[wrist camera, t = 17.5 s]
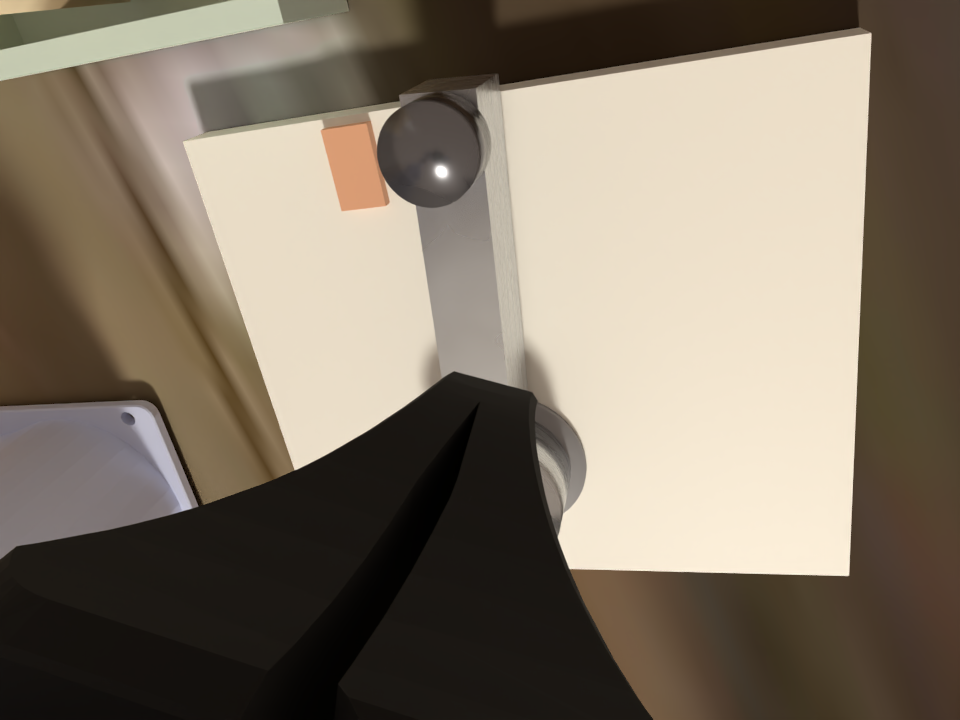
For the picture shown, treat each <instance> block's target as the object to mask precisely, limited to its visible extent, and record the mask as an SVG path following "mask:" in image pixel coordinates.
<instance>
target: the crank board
mask: <svg viewBox="0 0 960 720" xmlns="http://www.w3.org/2000/svg"><path fill="white" fill-rule="evenodd" d="M870 55H871V33H870V32H868V31H866V30H864V29H862V28H853V29H847V30H841V31H835V32H828V33H822V34H816V35H810V36H803V37H797V38H791V39H785V40H778V41H772V42H766V43H760V44H753V45H747V46H741V47H735V48H728V49H722V50H716V51H710V52H703V53H697V54H691V55H685V56H678V57H672V58H666V59H660V60H653V61H647V62H641V63H635V64H628V65H622V66H616V67H610V68H603V69H597V70H591V71H585V72H578V73H572V74H566V75H560V76H553V77H547V78H541V79H535V80H528V81H522V82H516V83H510V84H503V85H499V86H500V97H501V107H502V118H503V128H504V139H505V150H506V160H507V171H508V181H509V192H510V203H511V213H512V224H513V235H514V245H515V256H516V266H517V277H518V288H519V298H520V309H521V319H522V330H523V341H524V351H525V362H526V373H527V383H528V391H530V392H533V394H534V396H535V397H536V399H537V400H538V402H537V406H536V411H535V421H536V422H538V423H539V424H541V425H543V426H544V427H545V428H547V429H548V430H549V431H550V432H552V433H553V434H554V435H555V436H556V437H557V439H558V440H559V441H560V442H561V444H562V445H563V447H564V448H565V451H566V453H567V455H568V458H569V461H570V466H571V479H570V485H569V489H568V494H567V499H566V503H565V508H564V513H563V517H562V522H561V527H560V532H559V535H558V540H559V543H560V546H561V549H562V551H563V554H564V556H565V559H566V562H567V564H568V567H569V569H595V570H635V571H675V572H714V573H754V574H794V575H834V576H849V563H850V539H851V515H852V491H853V467H854V443H855V418H856V394H857V370H858V346H859V322H860V297H861V273H862V249H863V225H864V201H865V176H866V152H867V128H868V104H869V80H870ZM399 108H401V105H400V101H397V102H391V103H385V104H378V105H372V106H366V107H360V108H353V109H347V110H341V111H335V112H328V113H322V114H316V115H310V116H303V117H297V118H291V119H285V120H278V121H272V122H266V123H260V124H253V125H247V126H241V127H235V128H228V129H222V130H216V131H210V132H206V133H203V134H201V135H198V136H196V137H193V138H191V139H188V140H185V141H183V143H184V146H185V149H186V152H187V155H188V158H189V161H190V164H191V167H192V170H193V173H194V176H195V179H196V181H197V184H198V187H199V190H200V193H201V196H202V199H203V202H204V205H205V208H206V211H207V214H208V217H209V220H210V223H211V226H212V228H213V231H214V234H215V237H216V240H217V243H218V246H219V249H220V252H221V255H222V258H223V261H224V264H225V267H226V270H227V272H228V275H229V278H230V281H231V284H232V287H233V290H234V293H235V296H236V299H237V302H238V305H239V308H240V311H241V314H242V316H243V319H244V322H245V325H246V328H247V331H248V334H249V337H250V340H251V343H252V346H253V349H254V352H255V355H256V358H257V361H258V363H259V366H260V369H261V372H262V375H263V378H264V381H265V384H266V387H267V390H268V393H269V396H270V399H271V402H272V405H273V407H274V410H275V413H276V416H277V419H278V422H279V425H280V428H281V431H282V434H283V437H284V440H285V443H286V446H287V449H288V452H289V454H290V457H291V460H292V463H293V466H294V469H295V470H297V469H299V468H301V467H303V466H305V465H307V464H309V463H311V462H313V461H315V460H317V459H319V458H321V457H323V456H325V455H327V454H329V453H330V452H332V451H334V450H336V449H337V448H339V447H341V446H342V445H344V444H346V443H348V442H349V441H351V440H353V439H355V438H356V437H358V436H360V435H361V434H363V433H365V432H366V431H368V430H370V429H371V428H373V427H374V426H376V425H377V424H379V423H380V422H382V421H383V420H385V419H386V418H388V417H389V416H391V415H392V414H394V413H395V412H397V411H398V410H400V409H401V408H403V407H404V406H406V405H407V404H408V403H410V402H411V401H413V400H414V399H415V398H417V397H418V396H420V395H421V394H422V393H424V392H425V391H426V390H428V389H429V388H430V387H432V386H433V385H434V384H435V383H437V382H438V381H439V380H441V379H442V376H441V370H440V363H439V356H438V350H437V343H436V336H435V330H434V323H433V317H432V310H431V303H430V297H429V290H428V284H427V277H426V270H425V264H424V257H423V251H422V244H421V237H420V231H419V224H418V218H417V211H416V205H414V204H411V203H409V202H407V201H406V200H404V199H402V198H401V197H400V196H398V195H397V194H396V193H395V192H394V191H393V190H392V189H391V188H390V186H389V185H388V184H387V182H386V181H385V179H384V177H383V175H382V173H381V170H380V167H379V164H378V159H377V142H378V137H379V134H380V131H381V129H382V127H383V125H384V123H385V122H386V120H387V119H388V118H389V117H390V116H391V115H392V114H393V113H394V112H395V111H396V110H398V109H399Z"/></svg>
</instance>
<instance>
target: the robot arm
mask: <svg viewBox="0 0 960 720" xmlns="http://www.w3.org/2000/svg"><path fill="white" fill-rule="evenodd" d="M537 402H538V400H537V399H536V397H535V396H534V394H533V392H530V391H527V390H523V389H519V388H515V387H512V386H508V385H504V384H500V383H497V382H493V381H489V380H485V379H482V378H478V377H474V376H470V375H467V374H463V373H459V372H455V371H453V372H452V373H450V374H448V375H446V376H445V377H443V378H442V379H441V380H439V381H438V382H437V383H435V384H434V385H433V386H432V387H430V388H429V389H428V390H426V391H425V392H424V393H422V394H421V395H420V396H418V397H417V398H415V399H414V400H413V401H411V402H410V403H408V404H407V405H406V406H404V407H403V408H401V409H400V410H398V411H397V412H395V413H394V414H392V415H391V416H389V417H388V418H386V419H385V420H383V421H382V422H380V423H379V424H377V425H376V426H374V427H373V428H371V429H370V430H368V431H366V432H365V433H363V434H361V435H360V436H358V437H356V438H355V439H353V440H351V441H349V442H348V443H346V444H344V445H342V446H341V447H339V448H337V449H336V450H334V451H332V452H330V453H329V454H327V455H325V456H323V457H321V458H319V459H317V460H315V461H313V462H311V463H309V464H307V465H305V466H303V467H301V468H299V469H297V470H295V471H292V472H290V473H288V474H286V475H283V476H281V477H279V478H277V479H274V480H272V481H269V482H267V483H264V484H262V485H259V486H256V487H253V488H250V489H248V490H245V491H242V492H239V493H236V494H234V495H231V496H228V497H225V498H222V499H220V500H217V501H214V502H211V503H208V504H205V505H202V506H198V504H197V502H196V499H195V497H194V494H193V492H192V490H191V487H190V485H189V482H188V480H187V478H186V475H185V473H184V470H183V468H182V466H181V463H180V461H179V458H178V456H177V454H176V451H175V449H174V446H173V444H172V442H171V439H170V437H169V434H168V432H167V430H166V427H165V425H164V422H163V420H162V418H161V415H160V413H159V411H158V409H157V408H156V407H155V406H154V405H153V404H152V403H150V402H148V401H144V400H132V401H110V402H87V403H65V404H43V405H21V406H0V720H653V718H652V717H651V716H650V714H649V713H648V712H647V710H646V709H645V708H644V706H643V705H642V703H641V702H640V700H639V699H638V697H637V696H636V694H635V693H634V691H633V689H632V688H631V686H630V684H629V683H628V681H627V680H626V678H625V676H624V675H623V673H622V672H621V670H620V668H619V667H618V665H617V663H616V662H615V660H614V659H613V657H612V655H611V653H610V651H609V649H608V647H607V645H606V644H605V642H604V640H603V638H602V636H601V634H600V632H599V630H598V628H597V627H596V625H595V623H594V621H593V619H592V617H591V615H590V613H589V611H588V610H587V608H586V606H585V604H584V602H583V599H582V597H581V595H580V593H579V590H578V588H577V586H576V583H575V581H574V579H573V577H572V574H571V572H570V569H569V567H568V564H567V562H566V559H565V556H564V554H563V551H562V549H561V546H560V543H559V540H558V537H557V534H556V531H555V527H554V524H553V521H552V517H551V514H550V510H549V506H548V503H547V499H546V495H545V491H544V486H543V482H542V476H541V471H540V465H539V460H538V453H537V446H536V434H535V411H536V406H537ZM129 413H130V414H131V415H132V416H133V417H134V418H135V419H134V418H133V417H131V415H130V414H129Z"/></svg>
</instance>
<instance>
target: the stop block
mask: <svg viewBox="0 0 960 720" xmlns="http://www.w3.org/2000/svg"><path fill="white" fill-rule="evenodd" d="M130 1H131V0H0V15H3V14H13V13H23V12H33V11H44V10H54V9H64V8H74V7H84V6H94V5H104V4H114V3H124V2H130Z"/></svg>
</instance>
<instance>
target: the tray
mask: <svg viewBox="0 0 960 720" xmlns="http://www.w3.org/2000/svg"><path fill="white" fill-rule="evenodd" d="M348 11H349V8H348V3H347V0H131V1H130V2H124V3H114V4H104V5H94V6H84V7H74V8H64V9H54V10H44V11H33V12H23V13H13V14H3V15H0V81H2V80H7V79H12V78H17V77H23V76H28V75H33V74H38V73H43V72H48V71H53V70H58V69H63V68H68V67H73V66H78V65H83V64H88V63H93V62H98V61H103V60H108V59H113V58H118V57H123V56H128V55H133V54H138V53H143V52H148V51H153V50H158V49H163V48H168V47H173V46H178V45H183V44H188V43H193V42H198V41H203V40H208V39H213V38H218V37H223V36H228V35H233V34H238V33H243V32H248V31H253V30H258V29H263V28H268V27H273V26H278V25H283V24H288V23H293V22H298V21H303V20H308V19H313V18H318V17H323V16H328V15H333V14H338V13H343V12H348Z"/></svg>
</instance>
